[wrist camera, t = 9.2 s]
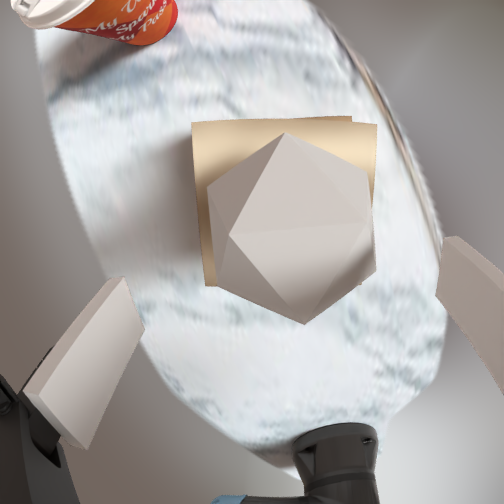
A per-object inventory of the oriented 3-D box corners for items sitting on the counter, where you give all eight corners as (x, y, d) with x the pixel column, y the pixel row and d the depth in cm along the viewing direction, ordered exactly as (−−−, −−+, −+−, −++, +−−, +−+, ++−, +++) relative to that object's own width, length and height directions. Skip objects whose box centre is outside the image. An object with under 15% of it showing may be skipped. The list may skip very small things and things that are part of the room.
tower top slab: (348, 259, 24) (361, 285, 20) (214, 260, 24) (205, 286, 21) (358, 122, 19) (377, 124, 16) (204, 121, 20) (191, 122, 16)
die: (191, 182, 18) (181, 337, 14) (258, 73, 12) (280, 271, 7) (298, 214, 22) (313, 345, 18) (381, 140, 15) (436, 300, 11)
